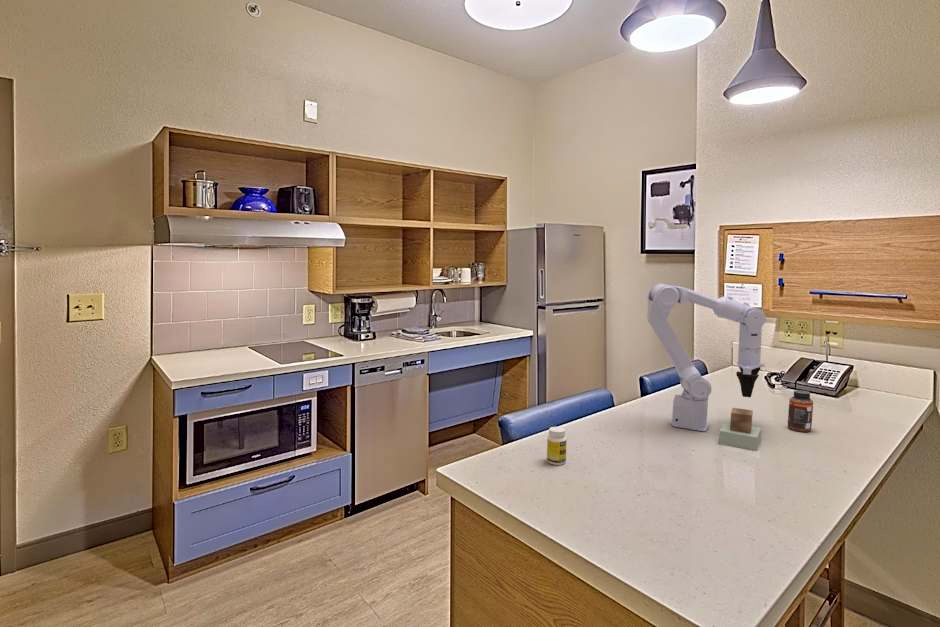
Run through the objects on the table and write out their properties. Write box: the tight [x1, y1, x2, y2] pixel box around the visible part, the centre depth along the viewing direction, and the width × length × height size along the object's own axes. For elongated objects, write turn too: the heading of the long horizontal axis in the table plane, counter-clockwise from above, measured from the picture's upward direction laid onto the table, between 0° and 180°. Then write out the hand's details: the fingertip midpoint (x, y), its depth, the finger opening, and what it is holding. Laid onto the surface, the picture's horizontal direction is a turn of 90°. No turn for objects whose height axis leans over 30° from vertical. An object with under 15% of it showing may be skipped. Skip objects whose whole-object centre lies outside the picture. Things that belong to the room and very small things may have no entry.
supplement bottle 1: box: [546, 426, 567, 466], centre depth 132 cm, size 5×5×8 cm
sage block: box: [718, 421, 762, 452], centre depth 145 cm, size 9×9×4 cm
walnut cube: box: [729, 407, 754, 434], centre depth 144 cm, size 5×5×5 cm
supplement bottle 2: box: [787, 389, 814, 433], centre depth 154 cm, size 6×6×11 cm
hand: (747, 393), depth 155 cm, fingers open, 7 cm apart
